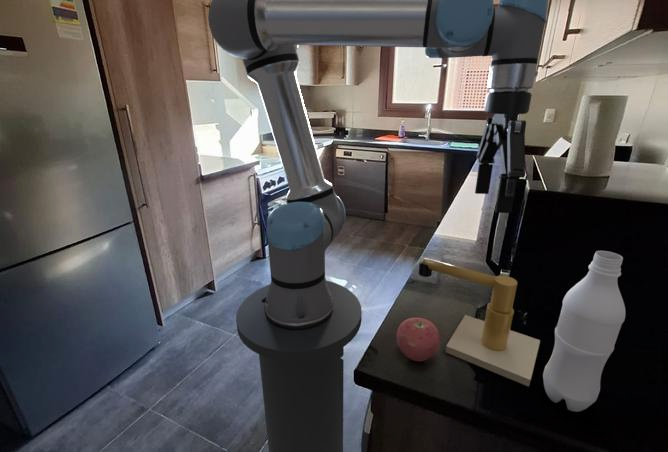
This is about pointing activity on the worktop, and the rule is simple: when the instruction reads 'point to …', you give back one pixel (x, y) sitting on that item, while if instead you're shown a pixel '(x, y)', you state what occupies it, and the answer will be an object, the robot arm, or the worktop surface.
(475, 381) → the worktop surface
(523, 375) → the tap stand
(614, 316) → the water bottle
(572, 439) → the worktop surface
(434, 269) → the nozzle
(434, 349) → the apple
